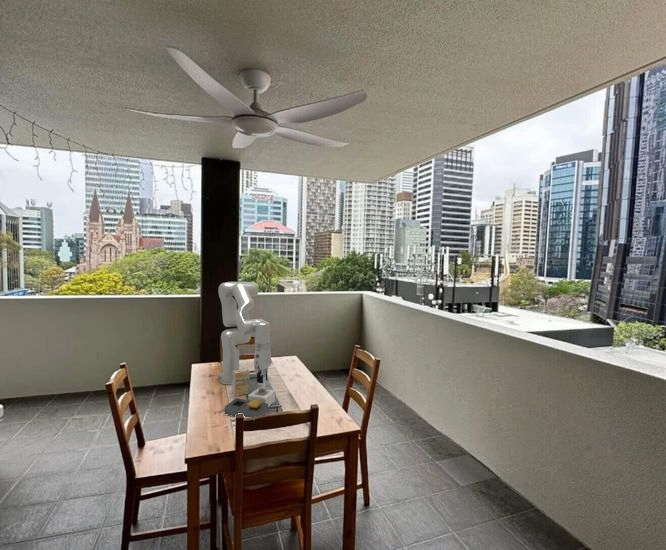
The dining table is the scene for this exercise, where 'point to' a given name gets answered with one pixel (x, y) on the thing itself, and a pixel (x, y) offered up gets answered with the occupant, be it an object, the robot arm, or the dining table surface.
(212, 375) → the dining table surface
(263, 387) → the drill bit
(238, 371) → the supplement box
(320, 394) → the dining table surface
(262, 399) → the white square bin
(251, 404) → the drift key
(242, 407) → the socket block
